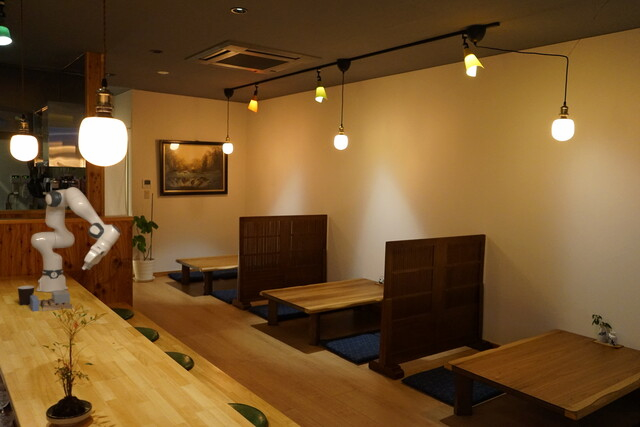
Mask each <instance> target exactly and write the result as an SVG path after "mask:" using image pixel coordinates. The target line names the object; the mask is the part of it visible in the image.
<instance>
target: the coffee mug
mask: <svg viewBox="0 0 640 427" xmlns="http://www.w3.org/2000/svg"><path fill="white" fill-rule="evenodd" d="M34 292H35V286H34V285H23V286H22V285H21V286H18V287H17V295H18V301H19V306H30V296H33V295H35V294H34Z"/></svg>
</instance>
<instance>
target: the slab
mask: <svg viewBox="0 0 640 427" xmlns="http://www.w3.org/2000/svg"><path fill="white" fill-rule="evenodd" d="M50 299H52V301H53V302H54V304H56V303H67V302H69V303H70V302H71V294H70V292H69V291H68V289H64V290H56V291H52V292H51V298H50Z"/></svg>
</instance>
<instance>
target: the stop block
mask: <svg viewBox="0 0 640 427" xmlns="http://www.w3.org/2000/svg"><path fill="white" fill-rule="evenodd" d="M29 307H30V309H31V311H32V312H40V305H39V297H38V296H37V295H36V294H33V296H30V305H29Z"/></svg>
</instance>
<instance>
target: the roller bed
mask: <svg viewBox="0 0 640 427" xmlns="http://www.w3.org/2000/svg"><path fill="white" fill-rule="evenodd" d="M41 304H42V305H41ZM39 306H42V312H47V310H51V311H57V310H58V309H59V311H60V309H61V306H62V307H63V309H61V310H68V309H72V308H73V303H70V302H67V303H56V304H54V302H53V301H52V299H51V298H48V299H40V300H39ZM64 308H65V309H64Z"/></svg>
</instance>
